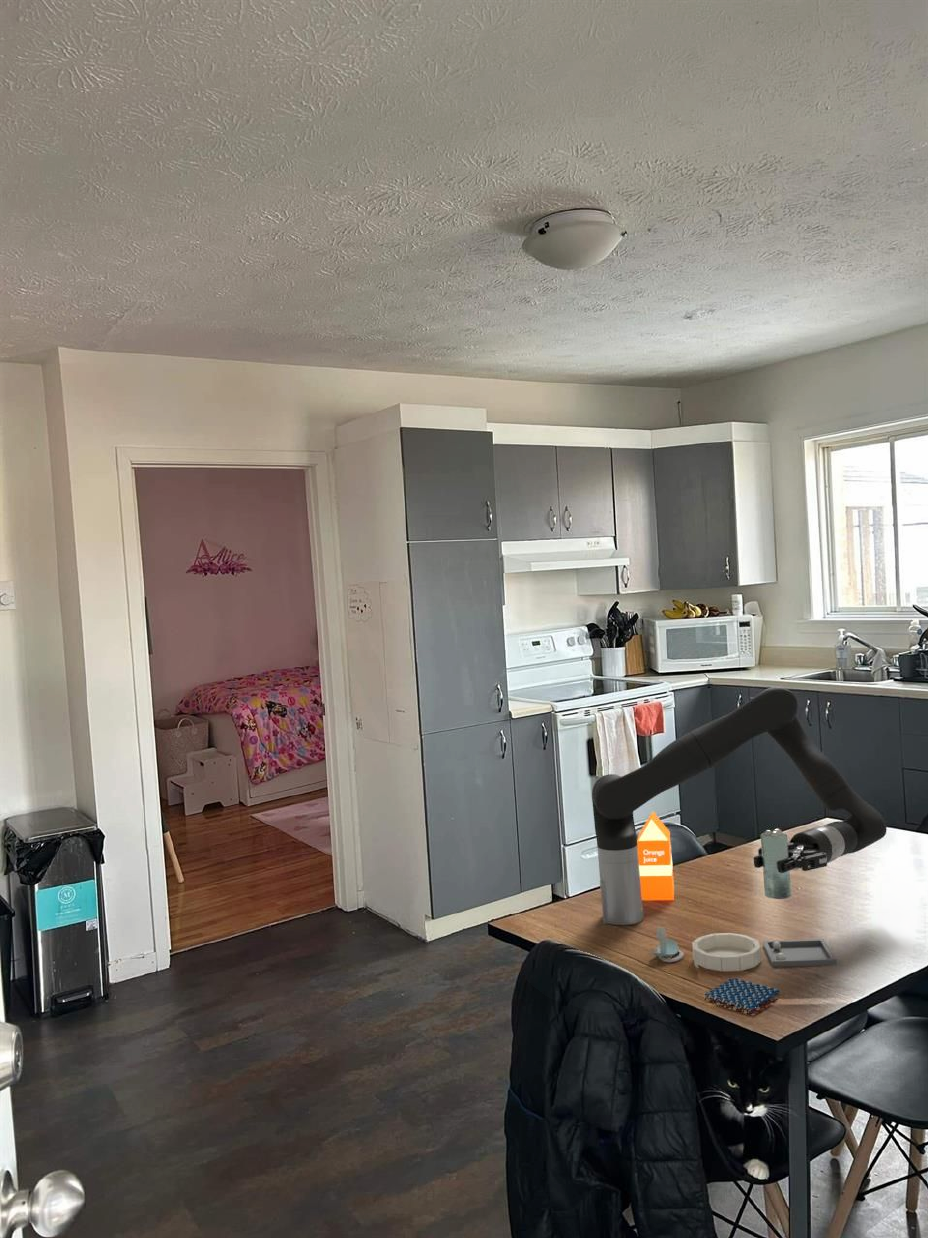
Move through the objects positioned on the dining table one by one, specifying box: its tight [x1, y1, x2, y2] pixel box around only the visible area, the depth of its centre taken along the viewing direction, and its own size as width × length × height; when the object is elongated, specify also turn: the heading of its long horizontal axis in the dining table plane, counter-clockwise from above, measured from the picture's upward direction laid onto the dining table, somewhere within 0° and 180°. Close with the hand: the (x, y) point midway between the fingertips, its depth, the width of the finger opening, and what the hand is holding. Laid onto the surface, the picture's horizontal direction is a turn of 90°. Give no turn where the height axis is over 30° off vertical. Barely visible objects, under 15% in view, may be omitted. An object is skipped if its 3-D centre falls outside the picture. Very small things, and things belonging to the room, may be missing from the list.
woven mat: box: [704, 977, 781, 1016], centre depth 175 cm, size 10×11×2 cm
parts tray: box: [762, 938, 838, 968], centre depth 191 cm, size 12×11×3 cm
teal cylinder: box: [760, 828, 792, 900], centre depth 191 cm, size 5×5×13 cm
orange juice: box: [637, 810, 675, 901], centre depth 238 cm, size 8×9×20 cm
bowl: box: [691, 932, 762, 972], centre depth 193 cm, size 13×13×4 cm
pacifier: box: [650, 926, 685, 963], centre depth 198 cm, size 7×6×6 cm
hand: (767, 865), depth 189 cm, fingers closed on teal cylinder, 5 cm apart
